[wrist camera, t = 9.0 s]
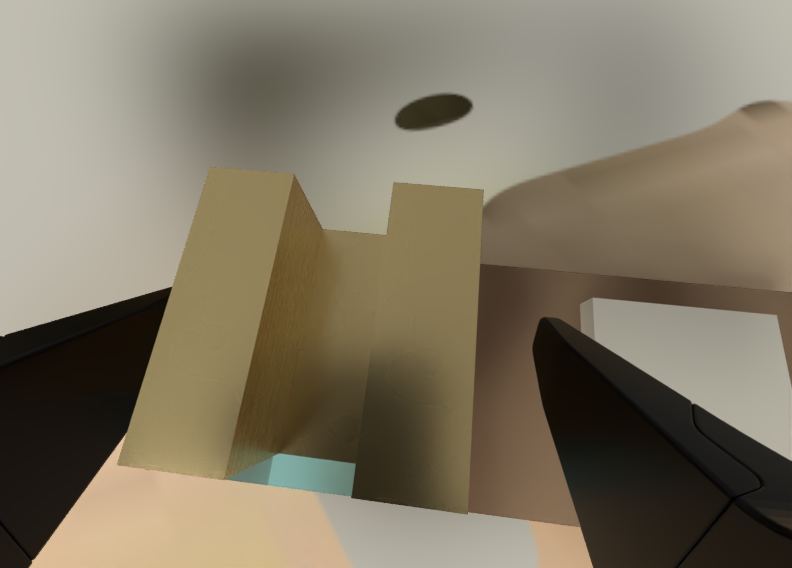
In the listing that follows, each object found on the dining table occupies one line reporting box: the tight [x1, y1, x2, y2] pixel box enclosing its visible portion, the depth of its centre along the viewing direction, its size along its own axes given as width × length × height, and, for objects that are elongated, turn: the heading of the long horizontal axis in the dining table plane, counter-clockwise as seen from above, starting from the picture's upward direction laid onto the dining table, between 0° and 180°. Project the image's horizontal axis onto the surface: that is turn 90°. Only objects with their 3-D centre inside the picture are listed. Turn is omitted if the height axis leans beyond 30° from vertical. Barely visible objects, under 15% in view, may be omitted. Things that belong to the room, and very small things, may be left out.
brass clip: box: [117, 167, 484, 514], centre depth 10 cm, size 4×4×11 cm
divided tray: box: [225, 264, 792, 527], centre depth 14 cm, size 22×9×3 cm, turn 84°
